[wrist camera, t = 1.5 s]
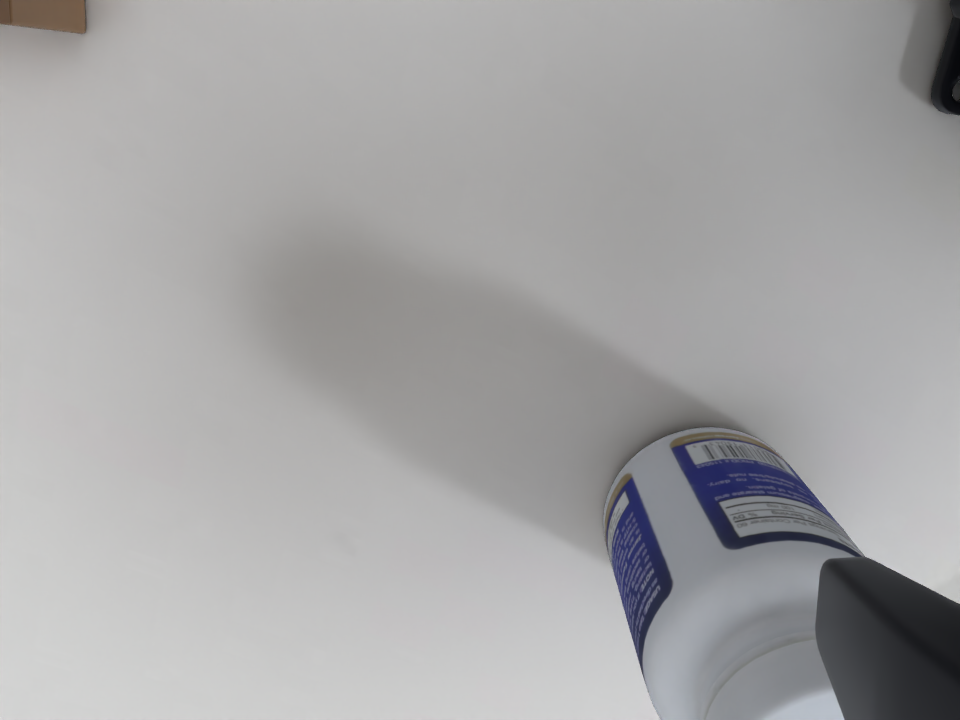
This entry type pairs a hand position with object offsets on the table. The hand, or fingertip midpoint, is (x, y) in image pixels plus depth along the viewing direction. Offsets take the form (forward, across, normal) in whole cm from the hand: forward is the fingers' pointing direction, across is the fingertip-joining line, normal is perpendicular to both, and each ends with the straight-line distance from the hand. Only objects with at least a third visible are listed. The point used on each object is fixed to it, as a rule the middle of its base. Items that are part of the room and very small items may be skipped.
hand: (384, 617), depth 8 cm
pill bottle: (+12, -6, +6) cm, 15 cm away
